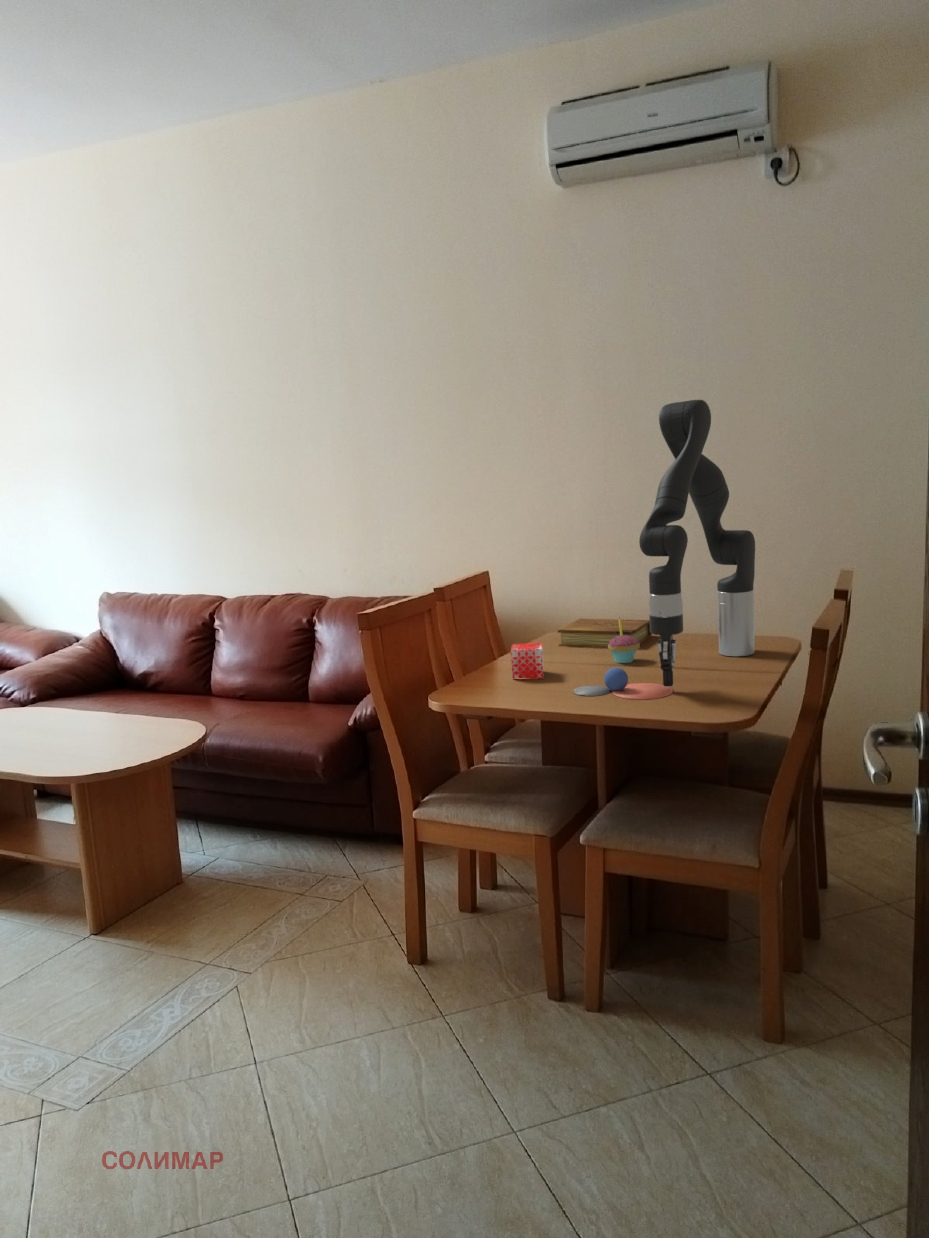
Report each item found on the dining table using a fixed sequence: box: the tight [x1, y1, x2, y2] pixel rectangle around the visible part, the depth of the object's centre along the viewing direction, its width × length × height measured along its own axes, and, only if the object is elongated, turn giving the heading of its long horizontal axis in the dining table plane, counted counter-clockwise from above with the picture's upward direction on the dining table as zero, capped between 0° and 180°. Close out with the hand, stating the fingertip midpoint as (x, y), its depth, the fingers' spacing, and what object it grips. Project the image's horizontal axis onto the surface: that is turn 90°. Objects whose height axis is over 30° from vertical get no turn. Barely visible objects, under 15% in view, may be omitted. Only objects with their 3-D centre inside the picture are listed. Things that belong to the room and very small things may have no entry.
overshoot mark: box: [572, 685, 612, 697], centre depth 209 cm, size 9×9×1 cm
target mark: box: [611, 682, 674, 701], centre depth 205 cm, size 14×14×1 cm
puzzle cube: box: [510, 642, 545, 679], centre depth 228 cm, size 8×8×8 cm
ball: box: [603, 667, 629, 692], centre depth 207 cm, size 6×6×6 cm
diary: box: [557, 618, 653, 649], centre depth 264 cm, size 23×19×6 cm
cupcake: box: [607, 616, 641, 664], centre depth 236 cm, size 9×8×12 cm
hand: (668, 685), depth 203 cm, fingers closed
